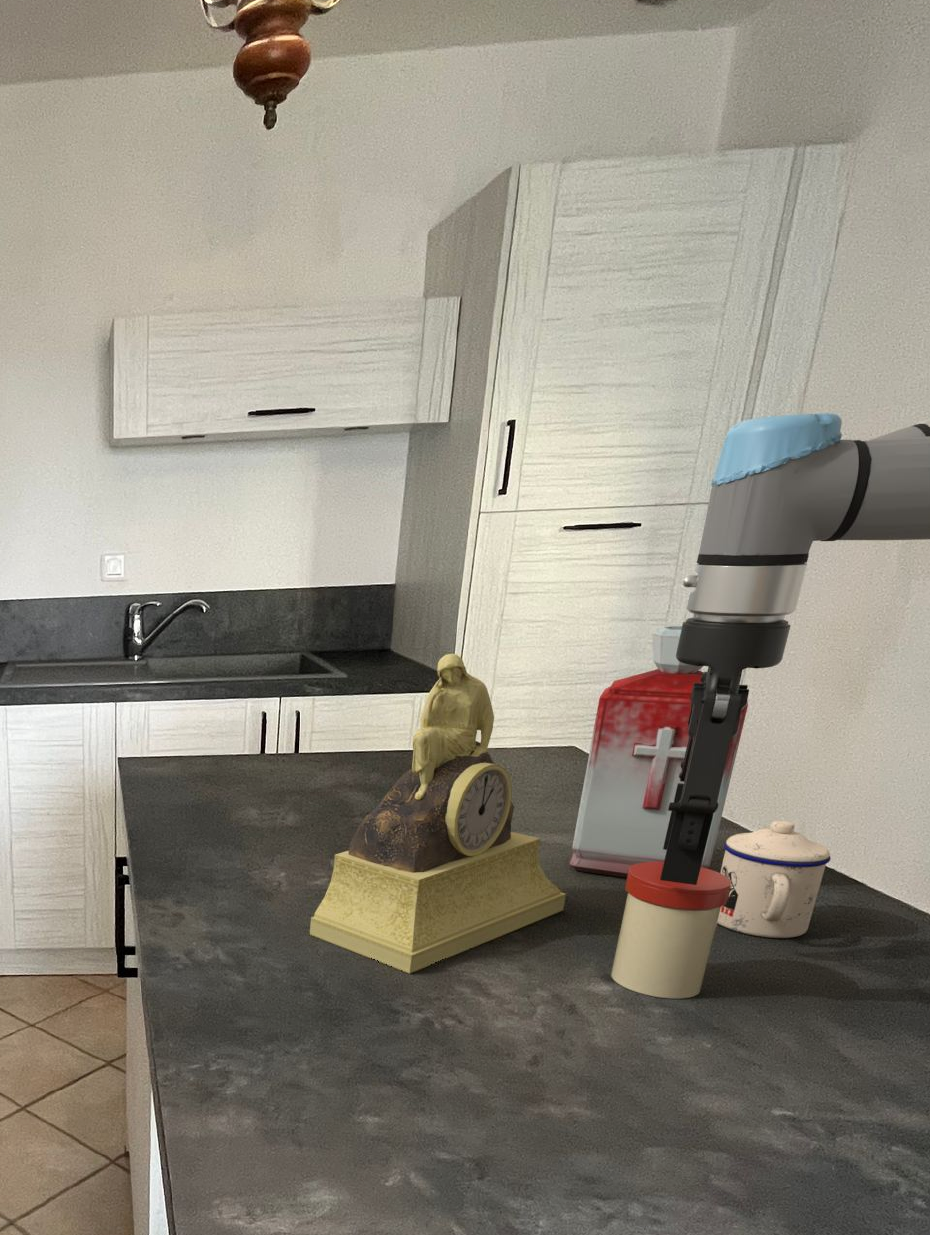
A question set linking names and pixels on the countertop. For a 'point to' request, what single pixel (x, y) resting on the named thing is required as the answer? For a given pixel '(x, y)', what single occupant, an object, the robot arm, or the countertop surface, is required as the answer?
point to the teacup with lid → (772, 881)
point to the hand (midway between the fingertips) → (678, 865)
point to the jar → (663, 949)
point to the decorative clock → (438, 846)
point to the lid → (677, 888)
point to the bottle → (640, 765)
